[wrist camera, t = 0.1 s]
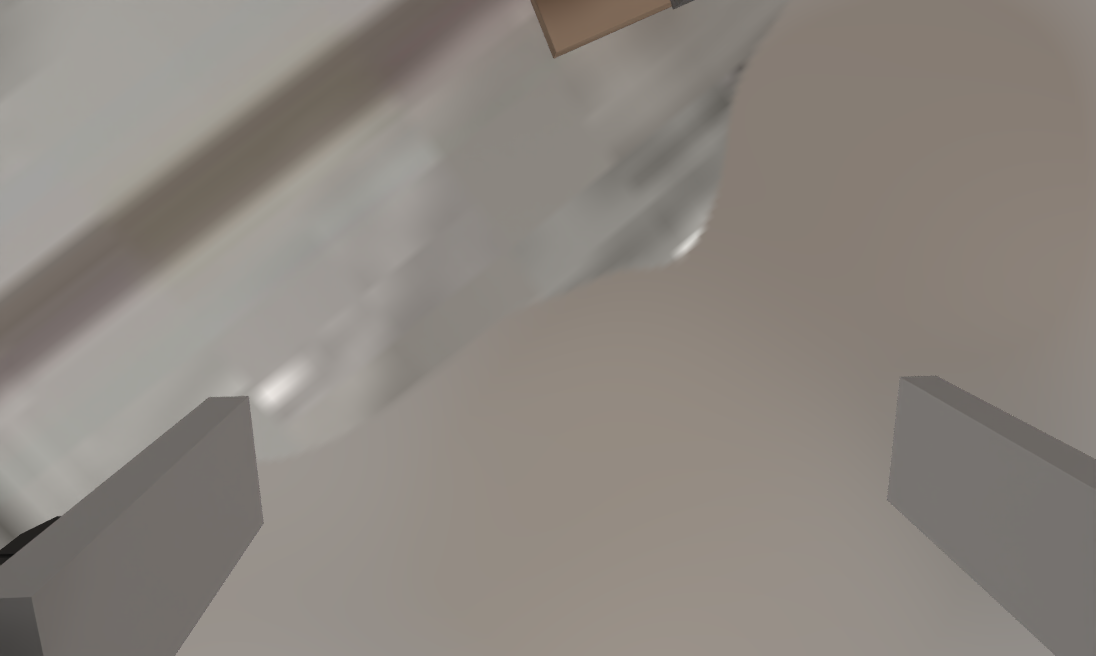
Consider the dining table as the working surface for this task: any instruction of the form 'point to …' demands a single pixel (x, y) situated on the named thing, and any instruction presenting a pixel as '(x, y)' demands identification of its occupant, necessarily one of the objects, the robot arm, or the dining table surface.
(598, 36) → the latch housing
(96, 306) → the dining table surface
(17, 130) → the dining table surface
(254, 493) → the robot arm
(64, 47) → the dining table surface
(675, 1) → the t key
